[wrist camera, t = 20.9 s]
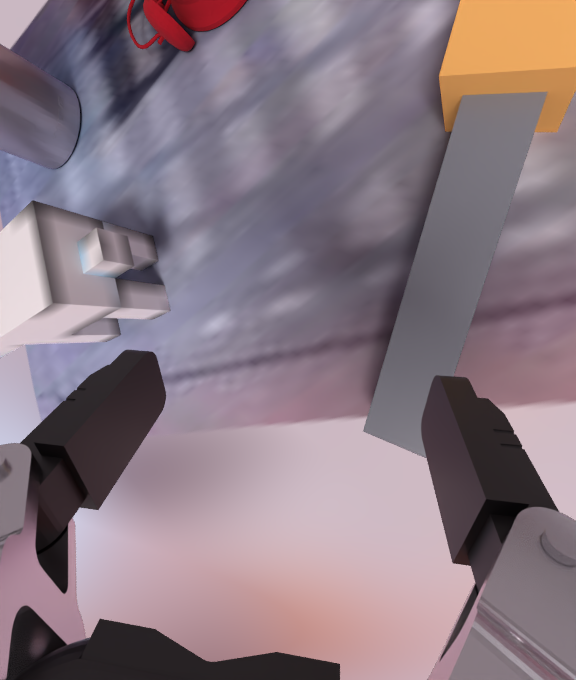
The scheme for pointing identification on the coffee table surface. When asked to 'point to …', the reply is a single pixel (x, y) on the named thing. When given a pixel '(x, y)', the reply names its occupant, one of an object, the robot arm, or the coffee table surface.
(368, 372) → the coffee table surface
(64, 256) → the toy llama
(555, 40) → the orange-tipped gray rod
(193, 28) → the alarm clock
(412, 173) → the coffee table surface
